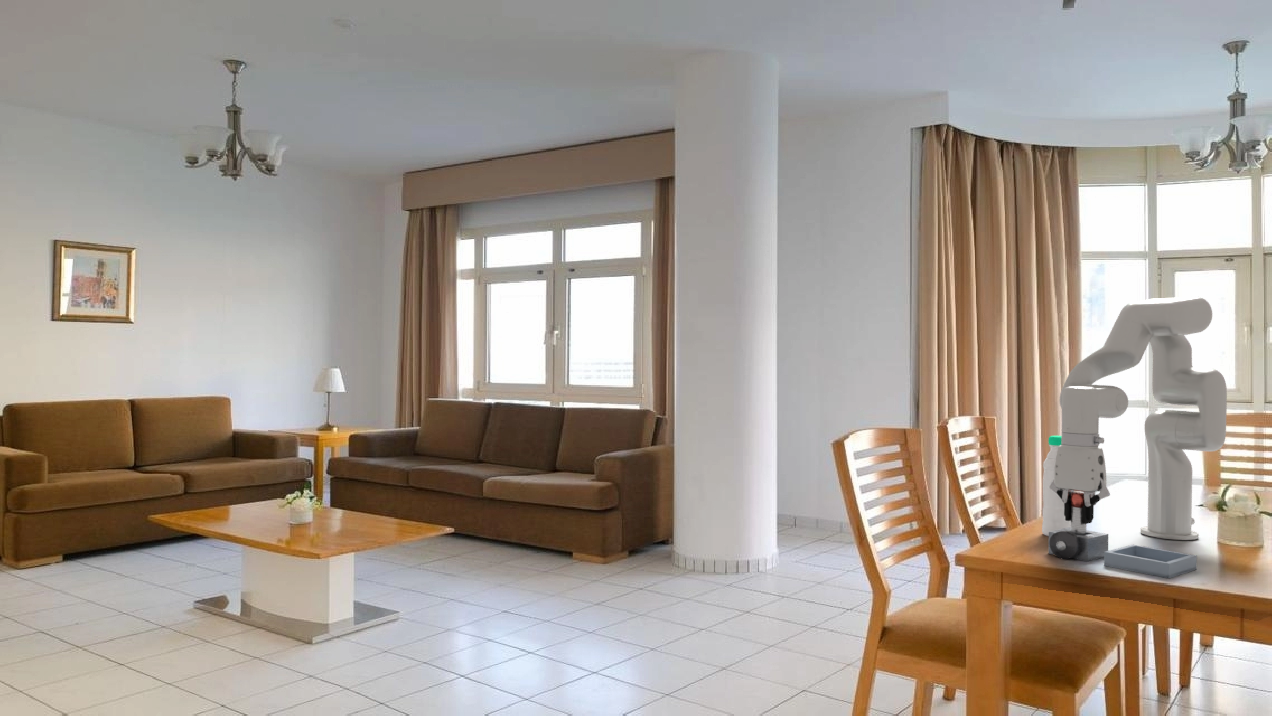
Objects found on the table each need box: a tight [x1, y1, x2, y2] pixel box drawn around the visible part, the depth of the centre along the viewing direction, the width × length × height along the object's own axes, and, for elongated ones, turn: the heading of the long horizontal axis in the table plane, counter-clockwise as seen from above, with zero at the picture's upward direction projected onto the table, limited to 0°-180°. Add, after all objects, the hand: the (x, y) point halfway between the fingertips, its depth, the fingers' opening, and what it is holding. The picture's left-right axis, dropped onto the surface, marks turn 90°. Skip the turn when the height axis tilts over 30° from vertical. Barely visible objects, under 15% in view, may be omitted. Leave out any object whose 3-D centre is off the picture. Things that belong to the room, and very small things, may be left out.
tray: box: [1103, 544, 1198, 579], centre depth 191 cm, size 13×13×3 cm
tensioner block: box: [1048, 527, 1109, 562], centre depth 202 cm, size 12×9×6 cm
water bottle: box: [1041, 435, 1071, 537], centre depth 224 cm, size 7×7×25 cm
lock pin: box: [1071, 491, 1087, 536], centre depth 203 cm, size 3×3×14 cm
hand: (1078, 520), depth 203 cm, fingers closed on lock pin, 3 cm apart
